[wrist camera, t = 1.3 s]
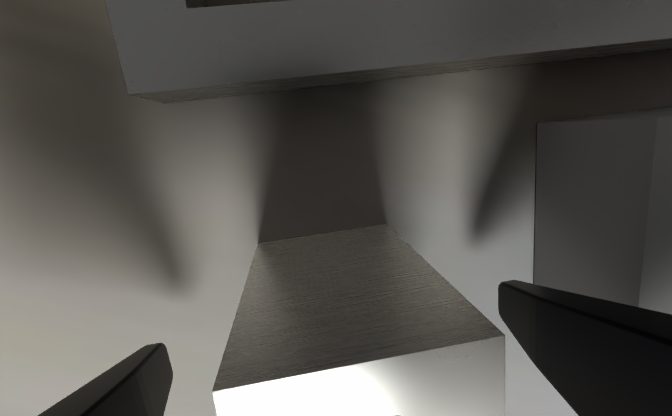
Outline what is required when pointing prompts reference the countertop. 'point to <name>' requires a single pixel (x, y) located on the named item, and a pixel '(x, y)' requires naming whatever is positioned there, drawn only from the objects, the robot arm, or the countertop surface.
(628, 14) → the rectangular frame
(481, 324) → the block
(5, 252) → the countertop surface
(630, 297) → the grey hollow square block
